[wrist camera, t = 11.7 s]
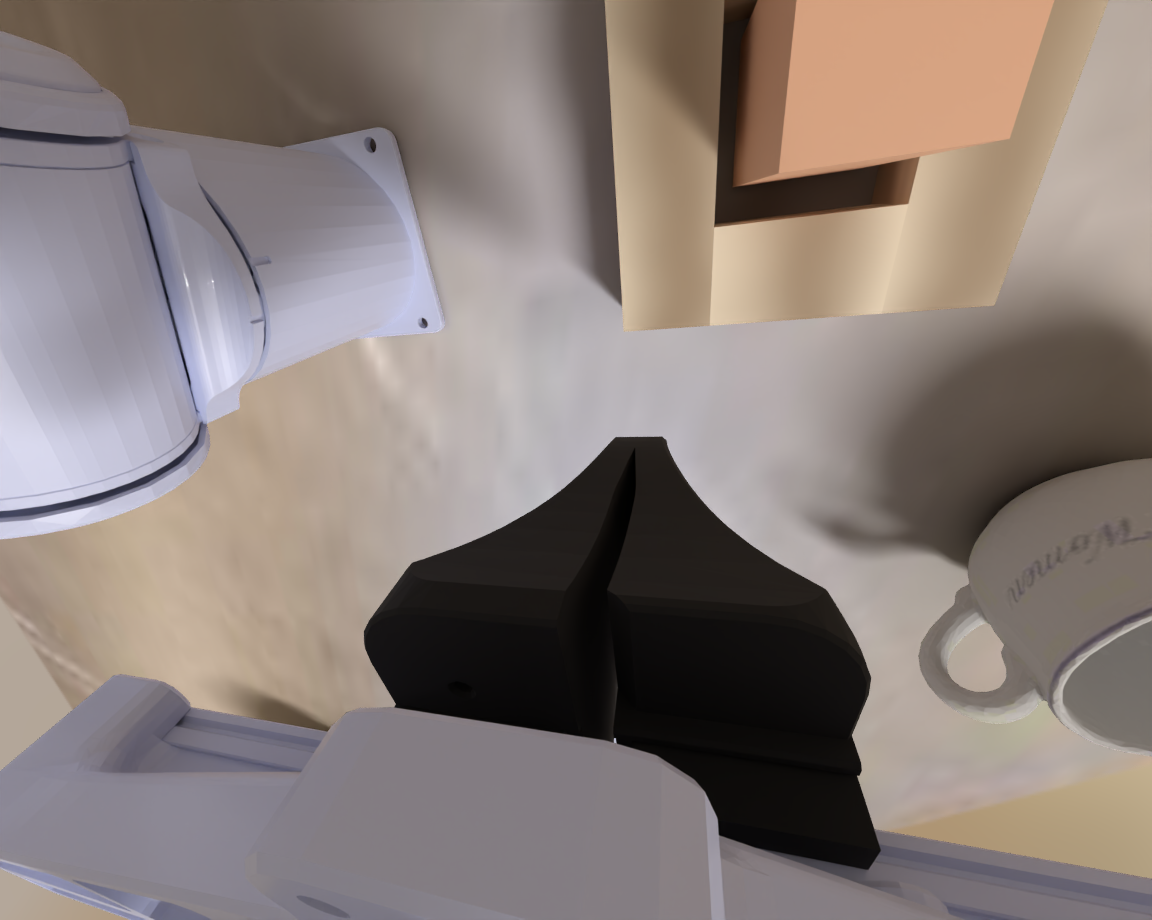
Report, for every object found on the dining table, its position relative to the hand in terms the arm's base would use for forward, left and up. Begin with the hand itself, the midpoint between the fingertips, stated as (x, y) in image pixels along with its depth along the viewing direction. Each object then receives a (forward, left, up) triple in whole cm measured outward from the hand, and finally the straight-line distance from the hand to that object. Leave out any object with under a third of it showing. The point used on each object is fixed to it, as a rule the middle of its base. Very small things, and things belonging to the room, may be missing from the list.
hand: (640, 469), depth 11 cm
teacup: (+18, -10, -10) cm, 23 cm away
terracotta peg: (+5, +8, -10) cm, 14 cm away
